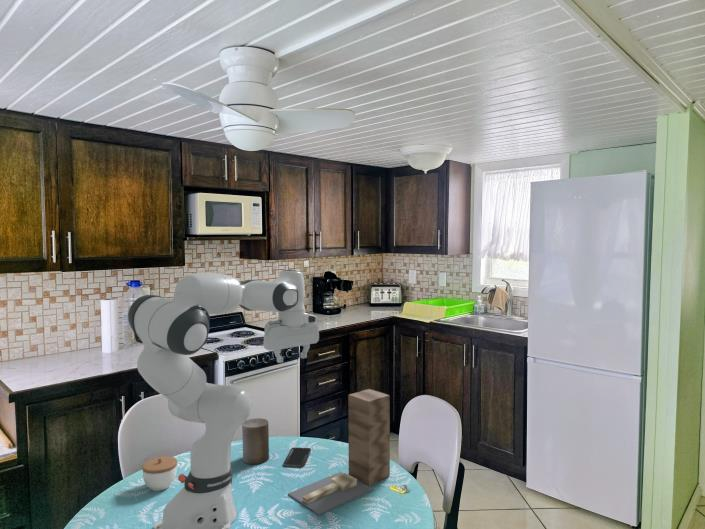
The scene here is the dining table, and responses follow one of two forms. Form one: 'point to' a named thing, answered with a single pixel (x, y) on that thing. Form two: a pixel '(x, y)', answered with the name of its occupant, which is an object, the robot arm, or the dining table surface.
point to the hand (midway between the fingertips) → (292, 360)
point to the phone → (297, 457)
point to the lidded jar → (159, 472)
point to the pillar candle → (255, 441)
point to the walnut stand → (369, 436)
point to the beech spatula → (332, 487)
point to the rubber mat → (329, 495)
